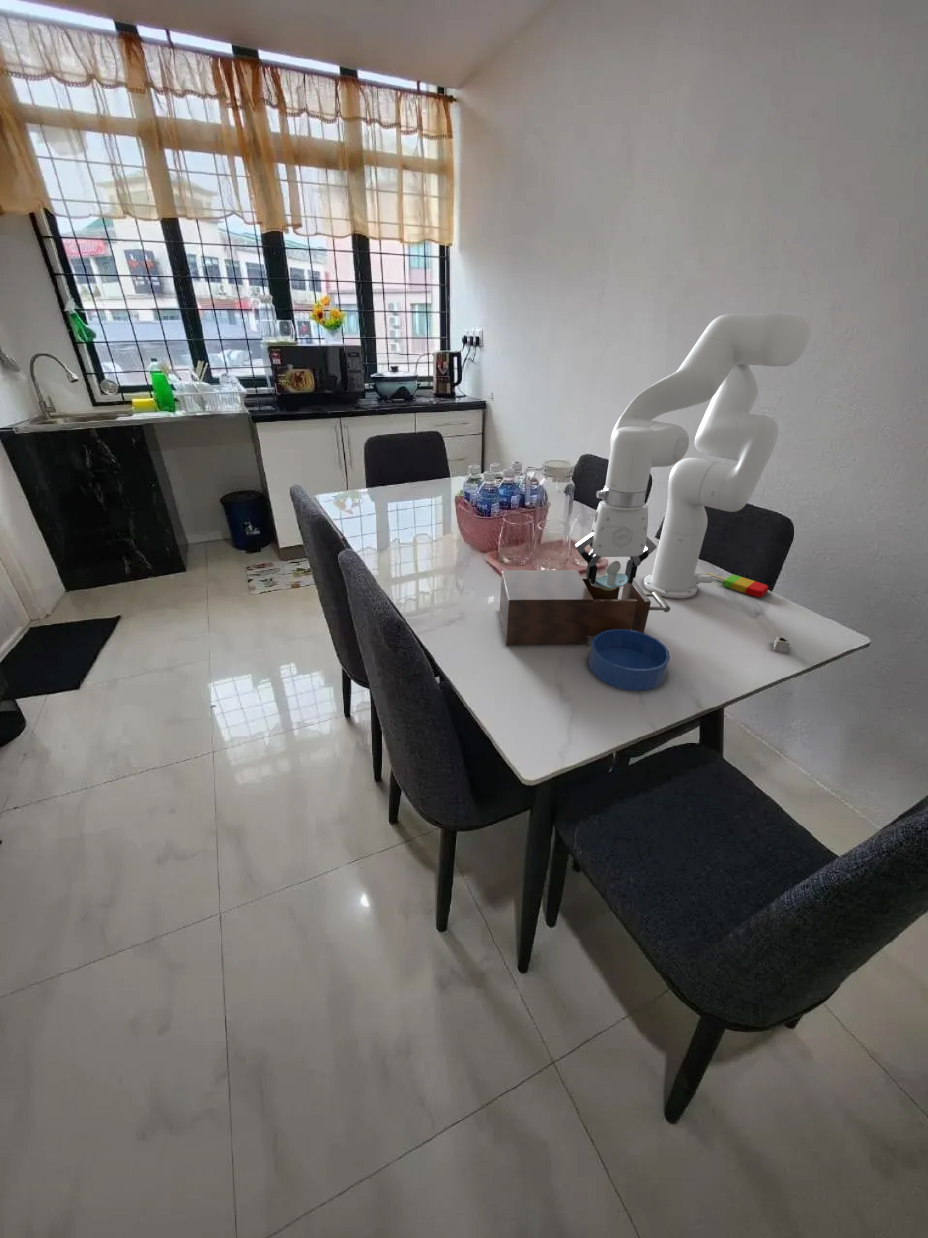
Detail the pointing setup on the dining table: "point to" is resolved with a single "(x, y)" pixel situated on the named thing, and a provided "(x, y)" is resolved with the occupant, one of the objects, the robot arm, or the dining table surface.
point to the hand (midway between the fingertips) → (609, 580)
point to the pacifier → (611, 578)
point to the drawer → (621, 608)
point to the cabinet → (544, 607)
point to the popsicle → (743, 585)
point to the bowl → (628, 659)
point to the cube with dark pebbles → (781, 644)
